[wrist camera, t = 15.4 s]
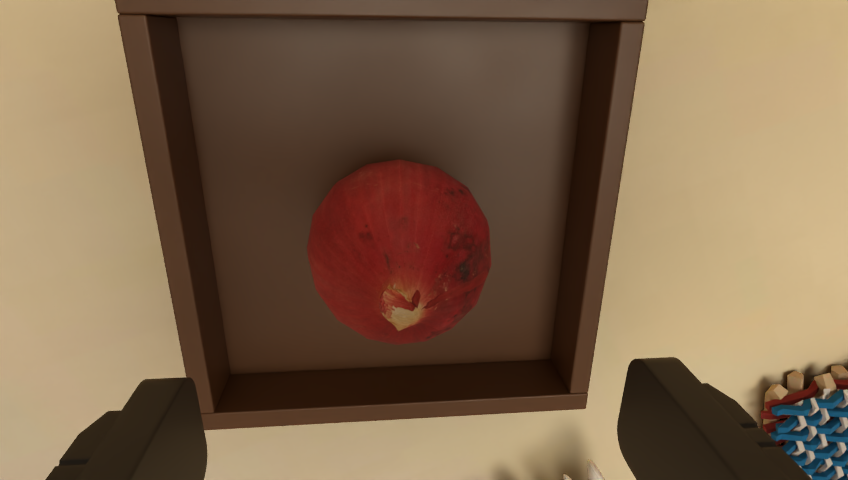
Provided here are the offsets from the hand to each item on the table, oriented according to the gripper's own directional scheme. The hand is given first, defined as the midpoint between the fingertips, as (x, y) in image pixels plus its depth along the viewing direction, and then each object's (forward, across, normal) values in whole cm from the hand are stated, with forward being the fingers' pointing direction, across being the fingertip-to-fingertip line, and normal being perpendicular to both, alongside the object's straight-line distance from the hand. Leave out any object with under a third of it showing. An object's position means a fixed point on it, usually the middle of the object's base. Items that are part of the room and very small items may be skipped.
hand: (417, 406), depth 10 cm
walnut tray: (+12, 0, 0) cm, 12 cm away
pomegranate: (+12, 0, 0) cm, 12 cm away
